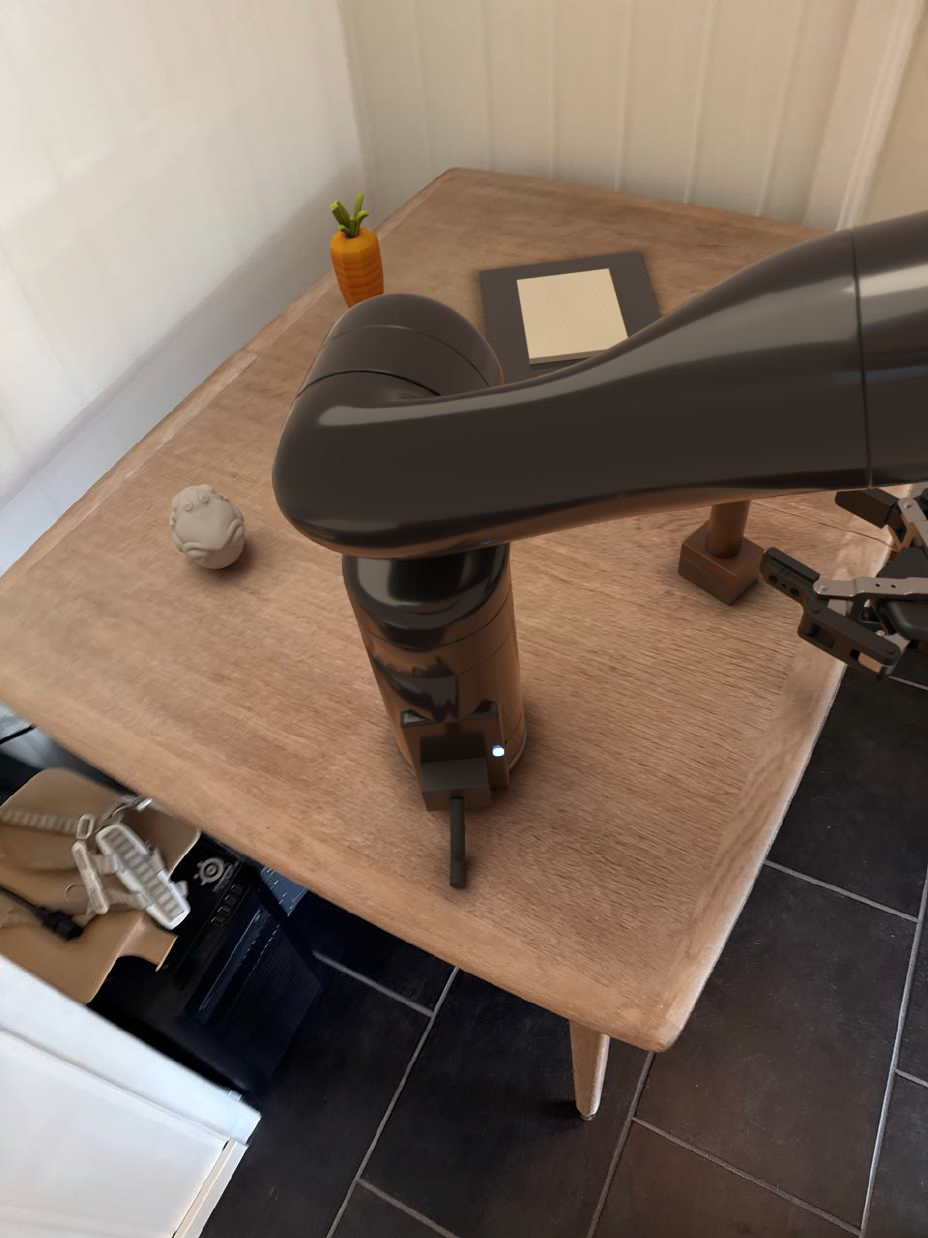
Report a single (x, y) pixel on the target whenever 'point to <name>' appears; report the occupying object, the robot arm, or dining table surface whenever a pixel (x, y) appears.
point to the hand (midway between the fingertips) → (802, 523)
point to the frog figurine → (207, 527)
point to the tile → (563, 311)
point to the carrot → (356, 255)
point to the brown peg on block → (722, 553)
